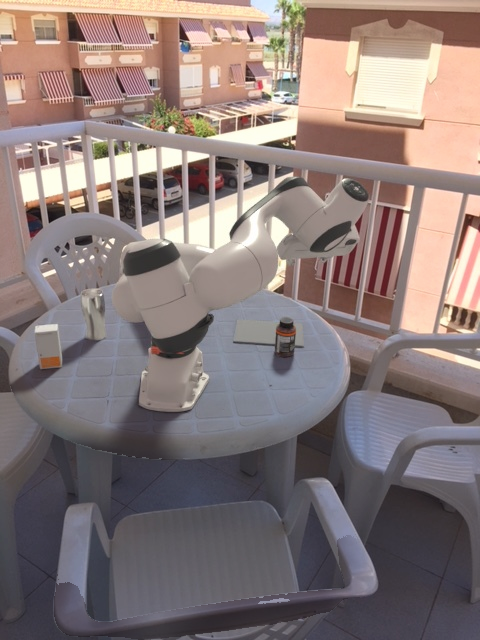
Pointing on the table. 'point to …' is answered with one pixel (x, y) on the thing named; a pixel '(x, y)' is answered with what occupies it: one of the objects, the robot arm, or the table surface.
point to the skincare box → (48, 346)
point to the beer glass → (94, 313)
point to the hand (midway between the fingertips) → (305, 262)
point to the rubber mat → (262, 332)
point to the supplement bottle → (285, 337)
